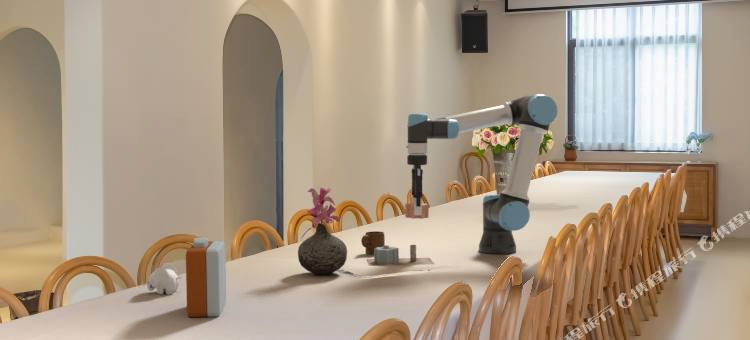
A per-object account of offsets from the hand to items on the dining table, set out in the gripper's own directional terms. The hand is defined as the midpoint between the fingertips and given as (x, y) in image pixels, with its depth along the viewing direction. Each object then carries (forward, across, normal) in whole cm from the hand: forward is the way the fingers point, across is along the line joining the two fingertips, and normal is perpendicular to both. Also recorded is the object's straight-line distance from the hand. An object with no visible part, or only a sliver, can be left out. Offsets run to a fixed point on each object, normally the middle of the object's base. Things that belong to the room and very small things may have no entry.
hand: (416, 213), depth 301 cm
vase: (+19, +25, -35) cm, 47 cm away
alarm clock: (+20, +76, -67) cm, 103 cm away
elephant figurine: (+20, +51, -84) cm, 101 cm away
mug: (+18, -10, -16) cm, 27 cm away
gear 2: (+1, 0, 0) cm, 1 cm away
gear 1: (+17, +8, -12) cm, 22 cm away
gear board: (+18, +8, -7) cm, 21 cm away
